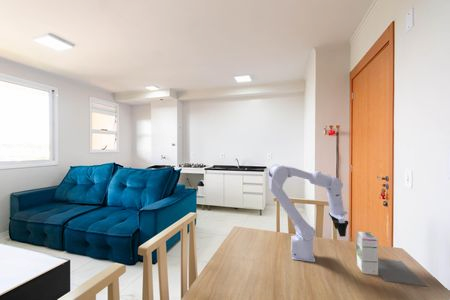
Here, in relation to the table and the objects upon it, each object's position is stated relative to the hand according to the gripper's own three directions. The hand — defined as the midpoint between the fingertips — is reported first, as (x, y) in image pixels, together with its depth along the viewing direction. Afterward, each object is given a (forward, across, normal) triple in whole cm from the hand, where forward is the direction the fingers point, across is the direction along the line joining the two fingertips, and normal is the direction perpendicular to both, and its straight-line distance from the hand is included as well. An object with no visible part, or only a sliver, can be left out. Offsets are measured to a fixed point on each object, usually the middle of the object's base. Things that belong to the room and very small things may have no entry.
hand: (340, 232), depth 94 cm
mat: (+13, -8, -15) cm, 22 cm away
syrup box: (+11, -10, -6) cm, 16 cm away
